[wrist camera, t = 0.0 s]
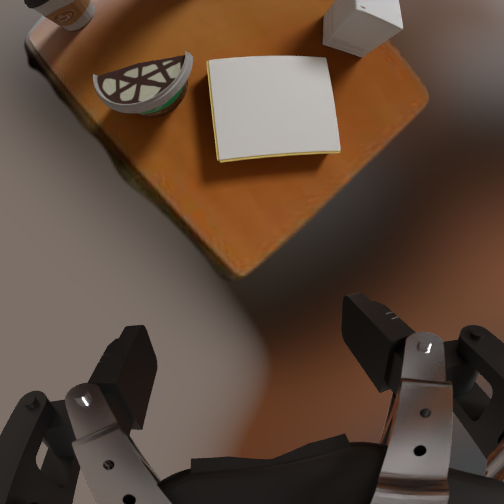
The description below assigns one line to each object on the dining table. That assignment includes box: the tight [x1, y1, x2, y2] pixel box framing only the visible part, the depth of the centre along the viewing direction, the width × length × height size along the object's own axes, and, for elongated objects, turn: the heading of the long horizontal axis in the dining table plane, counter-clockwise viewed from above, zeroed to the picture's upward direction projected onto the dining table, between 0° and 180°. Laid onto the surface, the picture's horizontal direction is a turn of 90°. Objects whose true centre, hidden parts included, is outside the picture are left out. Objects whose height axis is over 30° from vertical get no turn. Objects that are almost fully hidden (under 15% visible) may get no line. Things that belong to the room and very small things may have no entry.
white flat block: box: [207, 56, 341, 163], centre depth 33 cm, size 14×16×4 cm
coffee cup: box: [24, 0, 95, 31], centre depth 18 cm, size 8×8×15 cm
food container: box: [93, 51, 193, 117], centre depth 28 cm, size 12×6×10 cm, turn 95°
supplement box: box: [323, 0, 403, 57], centre depth 26 cm, size 7×7×13 cm
